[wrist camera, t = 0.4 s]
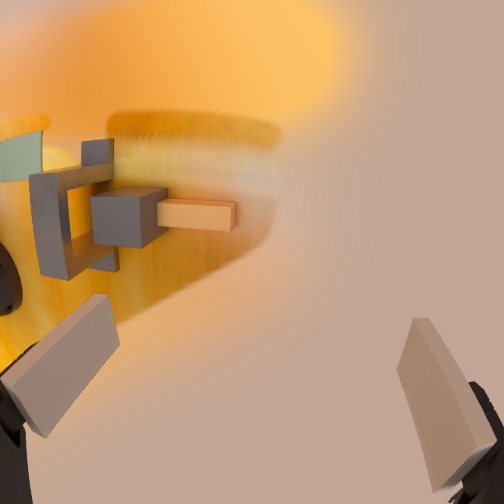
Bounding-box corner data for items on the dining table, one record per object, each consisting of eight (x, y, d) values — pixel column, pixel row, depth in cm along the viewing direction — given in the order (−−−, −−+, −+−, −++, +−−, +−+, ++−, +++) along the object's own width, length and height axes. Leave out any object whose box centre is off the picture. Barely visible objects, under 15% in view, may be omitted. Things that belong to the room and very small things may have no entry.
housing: (93, 265, 37) (46, 299, 28) (86, 141, 32) (28, 145, 22) (119, 269, 37) (73, 306, 27) (113, 138, 31) (56, 140, 21)
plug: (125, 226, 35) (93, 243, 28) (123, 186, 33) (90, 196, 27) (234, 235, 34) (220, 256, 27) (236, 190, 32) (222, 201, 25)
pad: (1, 181, 35) (0, 182, 35) (0, 141, 33) (-1, 141, 33) (42, 178, 34) (41, 178, 34) (42, 131, 32) (41, 131, 31)
